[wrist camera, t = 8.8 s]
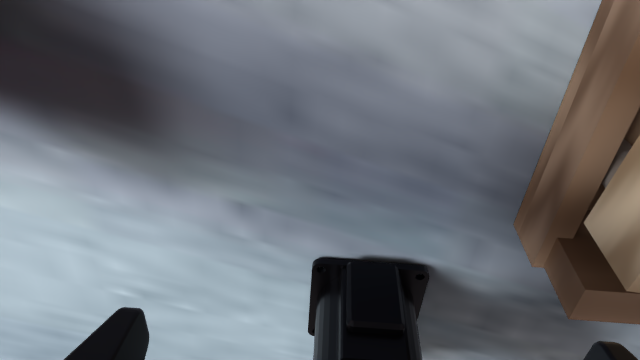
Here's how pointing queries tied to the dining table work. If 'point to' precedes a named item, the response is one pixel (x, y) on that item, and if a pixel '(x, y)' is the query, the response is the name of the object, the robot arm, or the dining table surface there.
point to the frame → (587, 169)
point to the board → (620, 221)
